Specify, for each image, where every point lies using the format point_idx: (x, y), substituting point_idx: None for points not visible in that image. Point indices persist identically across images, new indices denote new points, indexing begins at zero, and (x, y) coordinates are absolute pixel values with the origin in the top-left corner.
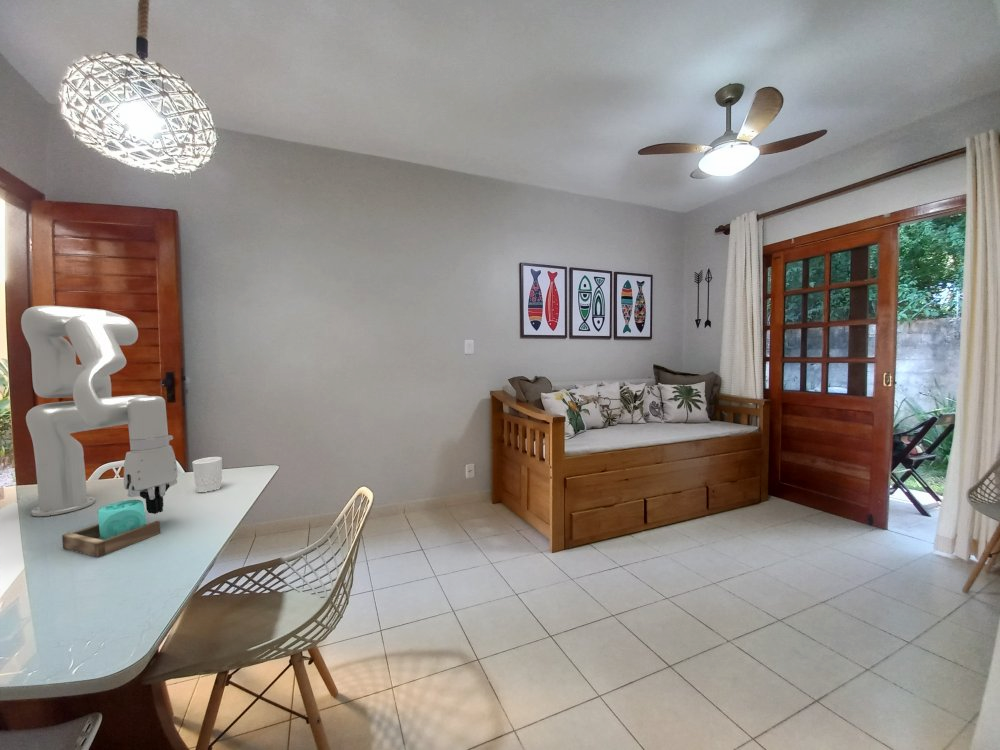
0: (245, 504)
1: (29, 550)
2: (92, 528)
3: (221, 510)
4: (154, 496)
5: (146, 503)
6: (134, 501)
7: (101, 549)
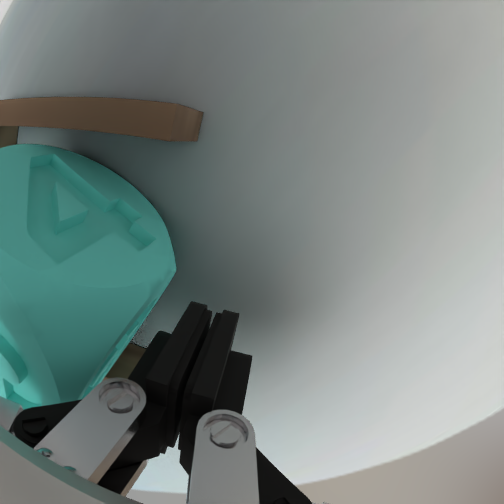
0: (433, 444)
1: (13, 10)
2: (22, 124)
3: (395, 423)
4: (144, 461)
5: (136, 369)
6: (36, 365)
7: None
